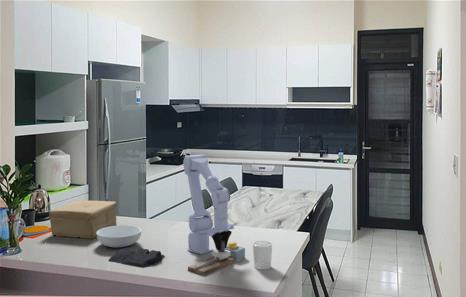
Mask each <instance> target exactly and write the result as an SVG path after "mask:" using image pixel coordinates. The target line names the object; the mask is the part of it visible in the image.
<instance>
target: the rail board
mask: <svg viewBox="0 0 466 297" xmlns="http://www.w3.org/2000/svg"><path fill="white" fill-rule="evenodd" d="M235 263H236V258H234V257H230V256H229V257H228V258H225V259H223V260H219V258H218V257H217V258H215V257H214V256H212V257H209V258H207V259H204V260H201V261H198V262H196V263H193V264H191V265H189V266H187V271H189V272H193V273H196V274H199V275H201V276H205V275H206V276H207V275H208V274H210V273H213V272H216V271H217V270H220V269H222V268H225V267H227V266H229V265H231V264H235Z"/></svg>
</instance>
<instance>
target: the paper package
mask: <svg viewBox="0 0 466 297" xmlns="http://www.w3.org/2000/svg"><path fill="white" fill-rule="evenodd" d="M48 216H49V221H50V229H51V235H52V236H54V235H56V236H55V237H64V236H67V238H78V237H80V239H94V238H97V234H96V232H97V231H98V230H100V229H102V228H106V227H110V226H118V225H117V202H116V201H109V200H83V199H82V200H81V199H79V200H76V201H73V202H71V203H67V204H66V205H62V206H60V207H56V208H54V209H52V210H50V211H48Z"/></svg>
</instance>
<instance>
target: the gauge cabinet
mask: <svg viewBox="0 0 466 297" xmlns="http://www.w3.org/2000/svg"><path fill="white" fill-rule="evenodd" d="M225 250H228V251H231V256H230V257H234V258H236V261H237V262H239V261H241V260H244V259H245V258H246V248H245V247H244V246H239V245H237V249H234V250H232V249H229V248H228V244H227V247H226V248H225ZM243 258H244V259H243ZM238 260H239V261H238Z"/></svg>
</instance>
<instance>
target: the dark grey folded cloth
mask: <svg viewBox="0 0 466 297" xmlns="http://www.w3.org/2000/svg"><path fill="white" fill-rule="evenodd" d="M165 257H166V256H165V254H162V252H161V251H160V250H156V249H155V250H153V249H152V250H150V249H148V248H144V247H143V248H142V247H138V248H137V249H133V248H127V247H123V248H121V249H119V250H118V251H116V252H115V253H114V254H113V255H112V256H111V257H110V258H109V259H108V262H111V263H116V264H119V265H120V264H121V265H124V266H125V265H127V266H131V267H138V268H144V269H145V268H149V267H151V266H153V265H155V264H158V263H160V262H161V261H162V260H164V258H165Z"/></svg>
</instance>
